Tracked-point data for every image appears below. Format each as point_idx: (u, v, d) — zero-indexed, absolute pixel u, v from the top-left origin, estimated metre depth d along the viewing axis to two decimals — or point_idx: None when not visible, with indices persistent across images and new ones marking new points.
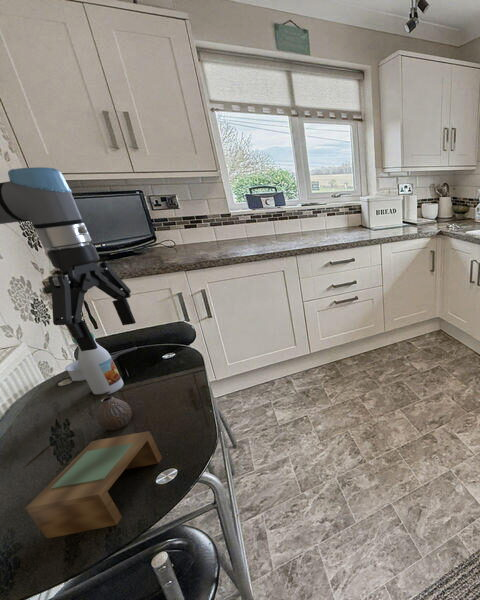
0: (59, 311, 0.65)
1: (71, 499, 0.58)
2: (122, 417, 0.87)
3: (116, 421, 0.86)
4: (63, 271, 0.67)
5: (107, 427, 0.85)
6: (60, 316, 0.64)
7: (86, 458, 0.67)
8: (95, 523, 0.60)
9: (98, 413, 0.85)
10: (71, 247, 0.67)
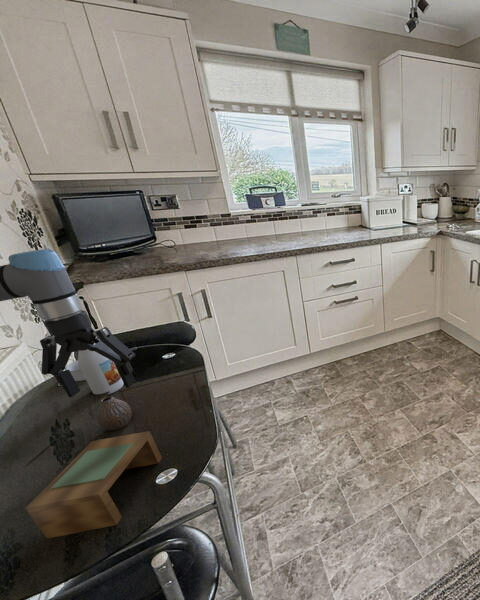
0: (125, 350, 0.82)
1: (71, 499, 0.58)
2: (122, 417, 0.87)
3: (116, 421, 0.86)
4: (88, 330, 0.79)
5: (107, 427, 0.85)
6: (129, 352, 0.83)
7: (86, 458, 0.67)
8: (95, 523, 0.60)
9: (98, 413, 0.85)
10: (81, 310, 0.79)
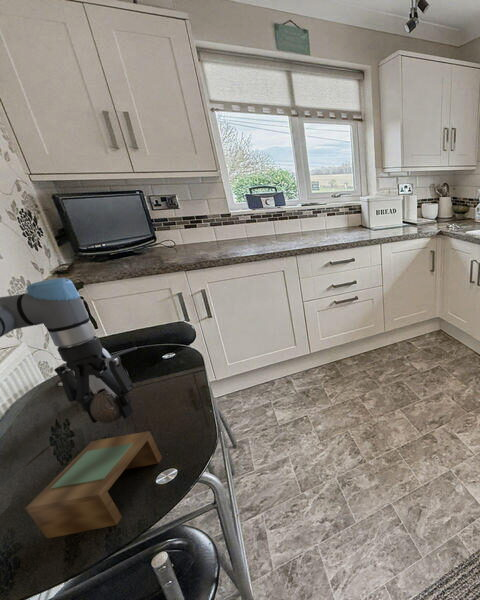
0: (127, 382, 0.85)
1: (71, 499, 0.58)
2: (116, 410, 0.86)
3: (110, 414, 0.85)
4: (100, 355, 0.81)
5: (100, 420, 0.84)
6: (129, 385, 0.86)
7: (86, 458, 0.67)
8: (95, 523, 0.60)
9: (92, 405, 0.83)
10: (93, 336, 0.82)
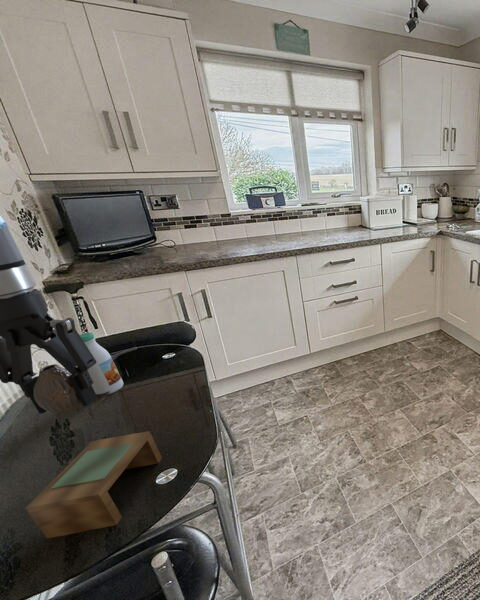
0: (85, 354, 0.61)
1: (71, 499, 0.58)
2: (72, 394, 0.61)
3: (62, 400, 0.60)
4: (42, 316, 0.57)
5: (48, 408, 0.59)
6: (89, 359, 0.61)
7: (86, 458, 0.67)
8: (95, 523, 0.60)
9: (35, 387, 0.59)
10: (33, 289, 0.57)
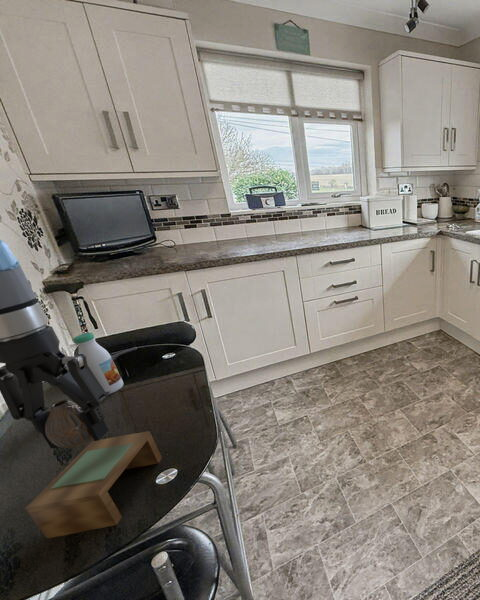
0: (97, 390, 0.60)
1: (71, 499, 0.58)
2: (83, 429, 0.61)
3: (74, 436, 0.60)
4: (54, 353, 0.56)
5: (60, 444, 0.59)
6: (101, 394, 0.61)
7: (86, 458, 0.67)
8: (95, 523, 0.60)
9: (47, 424, 0.58)
10: (45, 326, 0.57)
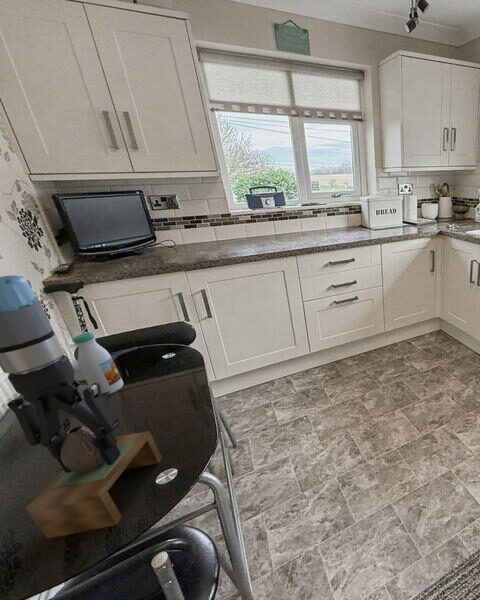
0: (111, 416, 0.62)
1: (71, 499, 0.58)
2: (97, 454, 0.63)
3: (88, 461, 0.62)
4: (70, 383, 0.59)
5: (74, 469, 0.61)
6: (114, 420, 0.63)
7: None
8: (95, 523, 0.60)
9: (62, 450, 0.61)
10: (61, 356, 0.59)
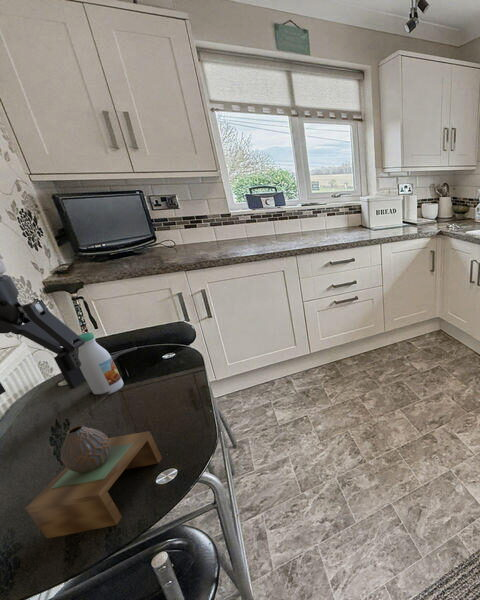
0: (68, 334, 0.57)
1: (71, 499, 0.58)
2: (97, 454, 0.63)
3: (88, 461, 0.62)
4: (12, 303, 0.54)
5: (74, 469, 0.61)
6: (74, 338, 0.58)
7: None
8: (95, 523, 0.60)
9: (62, 450, 0.61)
10: (3, 275, 0.54)
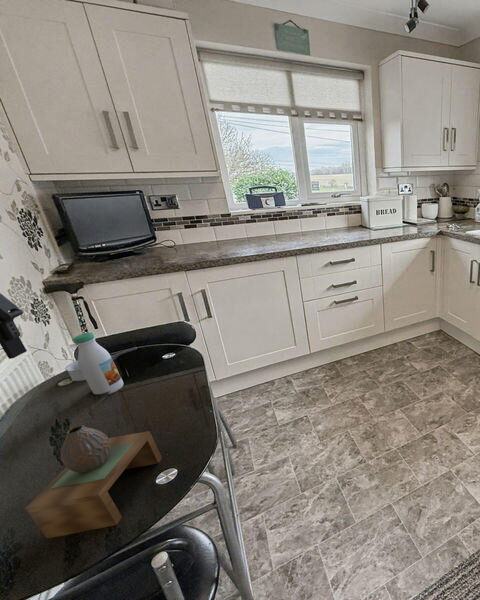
0: (4, 303, 0.58)
1: (71, 499, 0.58)
2: (97, 454, 0.63)
3: (88, 461, 0.62)
4: None
5: (74, 469, 0.61)
6: (11, 308, 0.58)
7: None
8: (95, 523, 0.60)
9: (62, 450, 0.61)
10: None
